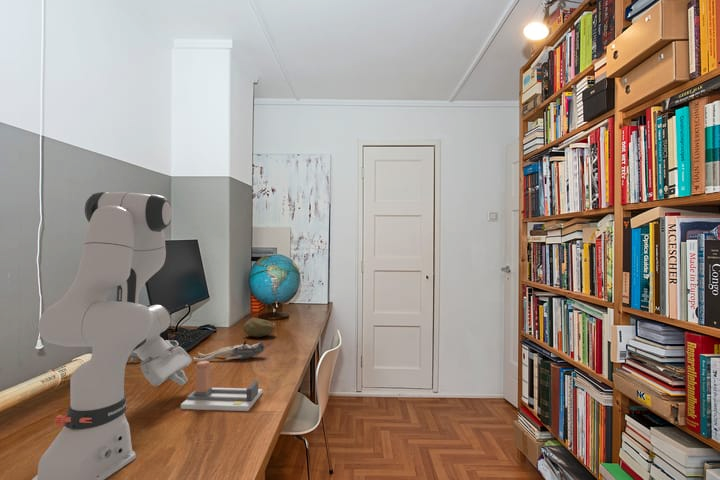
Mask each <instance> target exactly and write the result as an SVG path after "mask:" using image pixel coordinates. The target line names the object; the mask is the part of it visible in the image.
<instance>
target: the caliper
mask: <svg viewBox="0 0 720 480" xmlns="http://www.w3.org/2000/svg"><path fill="white" fill-rule="evenodd" d="M135 359H137V360H140V361H142V360H141V359H140V358H139V357H138V355H137V353H136V351H132V352H131V354H130V356H129V358H128V360H127V363H130V364H131V363H133V361H134V360H135Z"/></svg>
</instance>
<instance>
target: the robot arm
mask: <svg viewBox="0 0 720 480" xmlns="http://www.w3.org/2000/svg"><path fill="white" fill-rule="evenodd" d="M84 215H85V219H86V220H87V222H88V224H87V228H86V231H85V235H84V240H83V246H82V250H81V256H80V260H79V261H80V262H79V264H78V265H79V266H78V269H77V273H76V275H75V278H74V280H73V282H72V284H71V285H70V287H69V289H68V290H67V291H66V292H65V294H63V296H62V297H61V298H59V300H58V301H57V302H55V303H54V304H52V305H50V306H49V307H47V308H46V309H45V310H44V311H43V312H42V314H41V316H40V318H39V320H38V327H37V328H38V334H39V335H40V337H41V339H42V340H43V341H44V342H46V343H48V344H53V345H56V346H57V345H58V346H63V347H91V348H92V353H91V357H90V359H89V360H87V361H85V362H84V363H82V364H80V365H79V366H78V367H76V369H75V370H74V371H73V372H72V374H71V375H70V379H69V380H70V383H69V384H70V385H69V386H70V393H69V395H70V405H69V406H68V409H67V410H66V411H67V412H66V414H65V415H64V414H63V415H62V414H58V415H57V416H55V419H54V424H55V425H59V426H60V425H62V426H63V425H64V426H63V428H62V429H61V430H60V432H59V433H58V434H57V436H56V437H55V439H53V441H52V443H51V444H50V445H49V447H48V448H47V449H46V450H45V452H44V453H43V455H41V457H40V458H39V461H38V466H37V474H36V475H35V476H34V477H33V478H32V479H31V480H106V479H107V478H109V477H110V476H112V475H113V474H115V473H116V472H118V471H119V470H120V469H122V468H123V467H124V466H126V465H128V464H130V463H132V462H133V461H134V460H135V459H136V458H137V455H136V452H135V451H134V450H133V445H132V437H131V429H130V428H131V427H130V424H129V422H128V420H127V417H126V414H125V412H126V411H127V397H126V394H125V371H126V365H127V364H128V362H127V360H128V358H129V359H130V357H131V356H130V354H131V352H136V353H137V355H138V357H139V358H140V359H141V360H140V359H139V360H140V364H139V368H140V370H141V371H142V375H143V376H144V377H145V378H146V380H147V381H148V382H149V384H150V385H151V386H153V387H159V386H160V385H162V384H163V383H164V382H166V381H168V380H170V381H172V382H174V383H176V384H177V385H179V386H180V387H181V386H183V385H184V384H186V383H187V382H188V381H189V378H188V377H187V376H186V374H185V371H184V369H186V368H187V367H188V366H189V365H190V364H191V363H192V361H193V360H192V359H193V358H192V357H191V356H190V354H188V352H187V351H186V350H185V349H184V348H183V347H181V346H179V342H178V341H177V340H169V339H168V340H167V339H165V340H164V338H163V337H161V334H162V333H163V332H165V331H166V330H167V329H168V328H169V327H170V326H171V325H172V314H171V313H170V311H169V310H168V309H167V308H166V307H165V306H164V305H161V304H157V303H156V304H153V305H150V306H146V305H144V304H141V303H139V300H140V299H139V297H140V296H139V295H140V291H141V290H142V288H143V287H144V285H145V284H146V283H147V282H148V281H149V279H151V278H152V277H153V276H154V275H155V274H156V273H157V272H159V271H160V270H161V269H162V268H163V266H164V265H165V262H166V255H167V250H166V238H165V234H164V230H165V229H166V228H167V227H168V226H169V225H170V224H171V220H172V215H173V213H172V205H171V203H170V201H169V199H167V198H166V197H165V196H162V195H159V194H154V193H153V194H147V193H139V192H138V193H137V192H131V191H115V192H108V191H102V192H96V193H92V194H91V196H90V197H88V199H86V201H85V204H84ZM115 288H116V299H115V300H116V301H115V300H114V301H113V300H112V301H111V300H110V301H106V300H107V298H108V296H109V295H110V293H111V292H112V291H113V290H114V289H115ZM128 361H129V360H128Z"/></svg>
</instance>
